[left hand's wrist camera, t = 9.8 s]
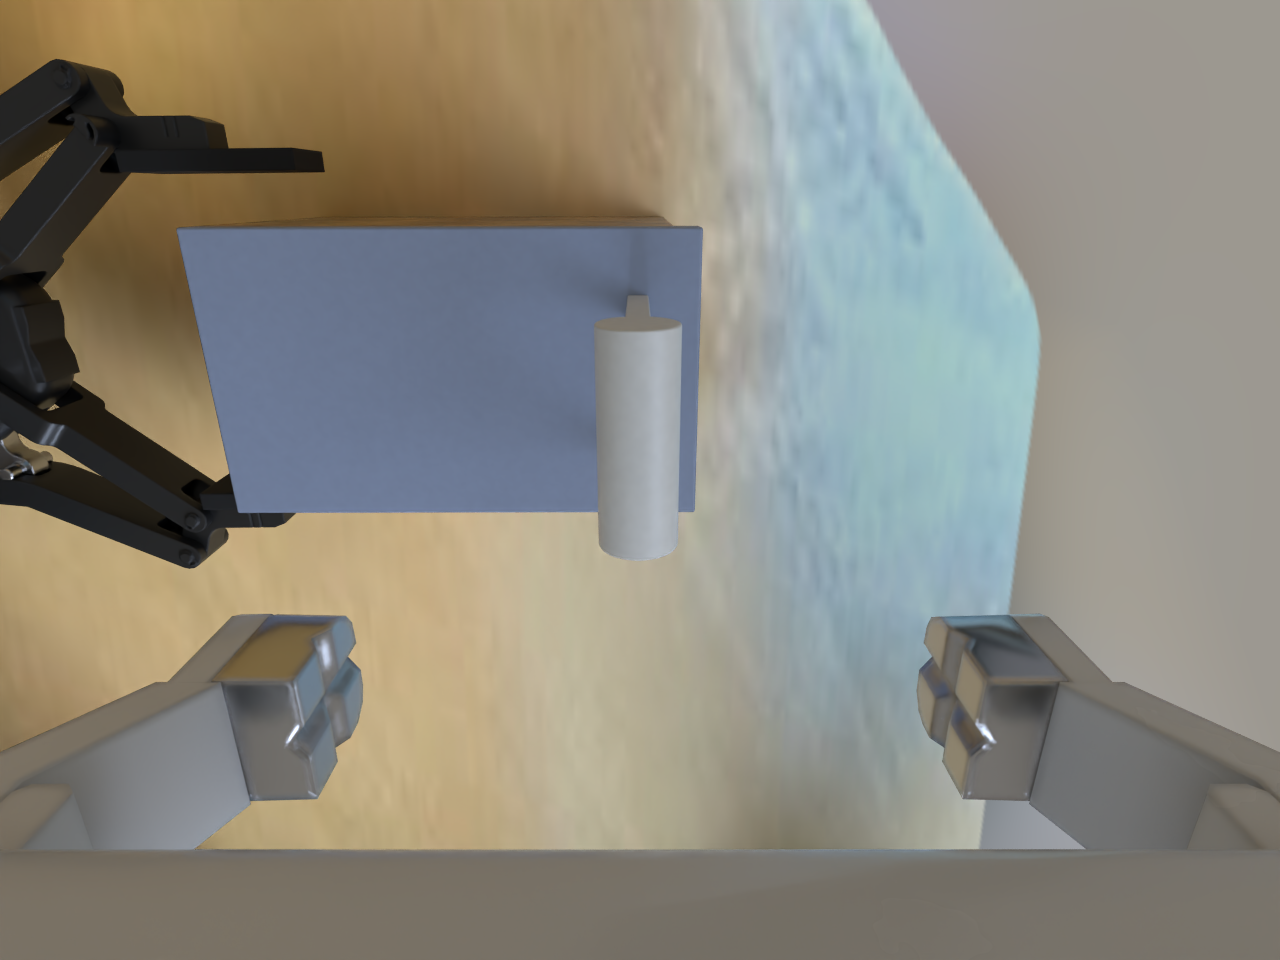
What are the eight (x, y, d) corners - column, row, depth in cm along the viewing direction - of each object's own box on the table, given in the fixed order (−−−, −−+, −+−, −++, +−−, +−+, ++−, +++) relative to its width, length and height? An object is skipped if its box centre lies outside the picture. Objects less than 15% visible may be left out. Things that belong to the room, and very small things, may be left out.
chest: (663, 216, 35) (674, 225, 25) (661, 420, 38) (670, 499, 28) (323, 216, 35) (196, 226, 25) (353, 420, 38) (253, 500, 28)
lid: (700, 225, 25) (731, 241, 16) (692, 500, 28) (715, 625, 20) (195, 226, 25) (-28, 241, 16) (253, 501, 28) (94, 626, 20)
